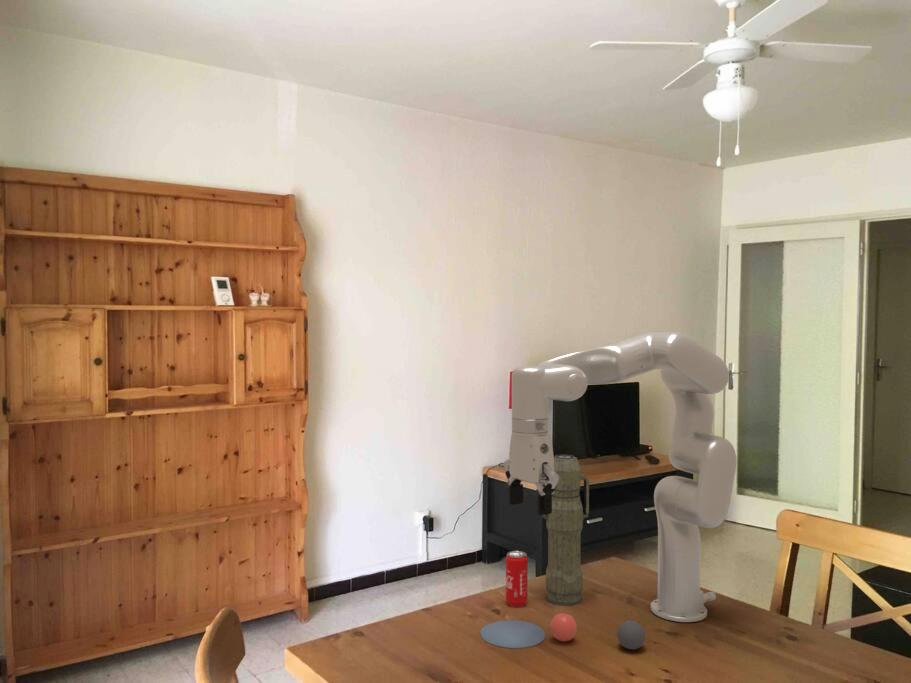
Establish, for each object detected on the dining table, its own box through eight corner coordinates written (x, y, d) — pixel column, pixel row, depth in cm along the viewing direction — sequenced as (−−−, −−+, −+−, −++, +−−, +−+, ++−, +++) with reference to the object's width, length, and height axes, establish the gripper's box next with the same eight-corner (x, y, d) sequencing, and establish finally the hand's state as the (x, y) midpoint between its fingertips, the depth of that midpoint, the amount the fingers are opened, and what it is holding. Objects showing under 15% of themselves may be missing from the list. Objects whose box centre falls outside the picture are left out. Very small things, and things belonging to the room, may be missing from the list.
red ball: (567, 632, 160) (567, 607, 160) (582, 643, 155) (582, 616, 155) (545, 637, 158) (545, 611, 158) (559, 647, 153) (559, 621, 152)
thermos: (535, 593, 183) (535, 454, 182) (579, 590, 185) (580, 452, 184) (546, 607, 174) (547, 460, 173) (593, 603, 177) (594, 458, 176)
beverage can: (526, 608, 174) (526, 558, 173) (504, 606, 175) (504, 556, 174) (528, 600, 179) (528, 551, 178) (507, 598, 180) (507, 550, 179)
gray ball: (633, 640, 156) (633, 614, 156) (650, 651, 151) (650, 624, 151) (611, 645, 154) (611, 618, 154) (628, 656, 149) (628, 629, 149)
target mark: (525, 617, 169) (525, 616, 169) (557, 641, 156) (557, 640, 156) (469, 627, 163) (469, 626, 163) (498, 653, 150) (498, 652, 150)
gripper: (571, 430, 146) (571, 515, 146) (519, 420, 161) (519, 497, 161) (541, 433, 142) (541, 521, 142) (491, 422, 157) (491, 502, 157)
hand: (530, 508), depth 152 cm, fingers open, 9 cm apart
